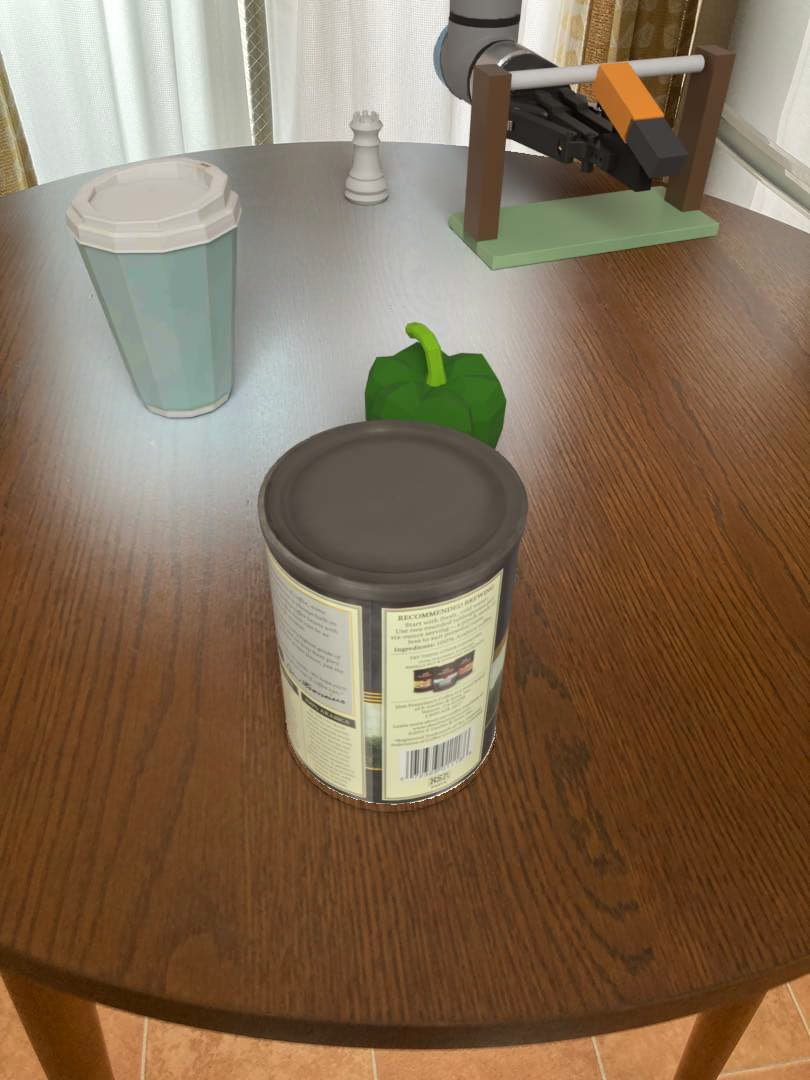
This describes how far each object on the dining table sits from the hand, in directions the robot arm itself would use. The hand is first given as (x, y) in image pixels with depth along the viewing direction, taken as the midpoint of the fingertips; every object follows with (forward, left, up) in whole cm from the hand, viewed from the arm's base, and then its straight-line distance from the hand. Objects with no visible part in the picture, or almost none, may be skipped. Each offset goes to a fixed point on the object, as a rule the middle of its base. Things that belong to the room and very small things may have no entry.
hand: (645, 174), depth 77 cm
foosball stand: (0, -8, -8) cm, 12 cm away
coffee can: (+37, +40, -8) cm, 55 cm away
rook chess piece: (+17, -22, -8) cm, 29 cm away
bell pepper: (+28, +23, -8) cm, 37 cm away
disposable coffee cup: (+41, +8, -8) cm, 43 cm away
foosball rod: (0, +3, +2) cm, 3 cm away
